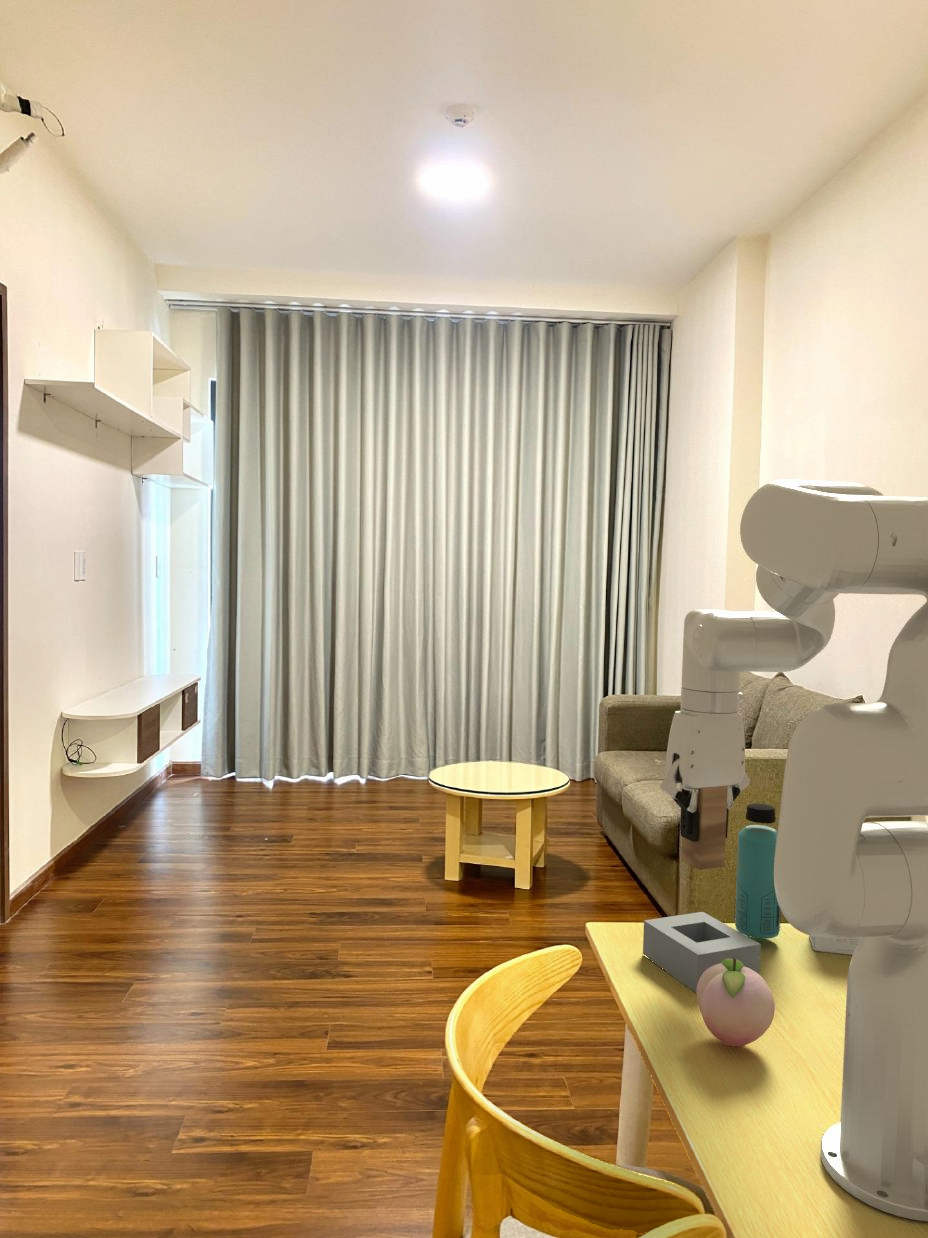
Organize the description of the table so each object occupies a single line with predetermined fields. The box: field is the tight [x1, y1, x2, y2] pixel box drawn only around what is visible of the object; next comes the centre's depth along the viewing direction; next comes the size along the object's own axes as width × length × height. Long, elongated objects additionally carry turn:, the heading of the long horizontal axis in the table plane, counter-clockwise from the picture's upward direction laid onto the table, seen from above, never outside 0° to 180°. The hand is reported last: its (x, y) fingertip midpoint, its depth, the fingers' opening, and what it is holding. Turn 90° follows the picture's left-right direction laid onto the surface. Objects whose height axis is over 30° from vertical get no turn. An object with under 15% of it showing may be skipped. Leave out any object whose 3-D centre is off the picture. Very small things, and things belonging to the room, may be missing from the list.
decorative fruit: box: [696, 958, 776, 1047], centre depth 102 cm, size 9×8×10 cm
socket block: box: [642, 911, 761, 994], centre depth 122 cm, size 12×10×5 cm
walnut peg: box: [680, 785, 728, 871], centre depth 121 cm, size 4×4×12 cm
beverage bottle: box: [733, 803, 782, 940], centre depth 132 cm, size 6×7×20 cm
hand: (703, 836), depth 121 cm, fingers closed on walnut peg, 4 cm apart
